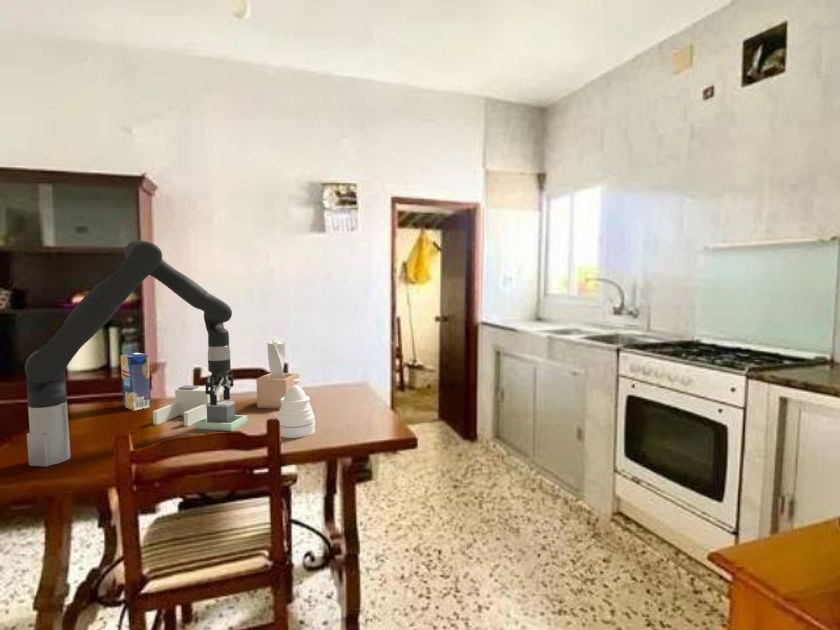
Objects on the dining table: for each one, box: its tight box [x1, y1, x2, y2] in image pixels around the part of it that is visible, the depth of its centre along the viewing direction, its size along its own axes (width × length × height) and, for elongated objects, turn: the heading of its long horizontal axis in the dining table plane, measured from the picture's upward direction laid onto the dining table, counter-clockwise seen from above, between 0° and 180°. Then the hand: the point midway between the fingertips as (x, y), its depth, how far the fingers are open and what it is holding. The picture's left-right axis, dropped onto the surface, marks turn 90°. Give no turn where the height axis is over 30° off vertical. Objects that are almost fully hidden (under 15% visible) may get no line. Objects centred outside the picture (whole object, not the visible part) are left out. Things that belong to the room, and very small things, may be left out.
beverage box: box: [120, 352, 152, 411], centre depth 212 cm, size 7×11×22 cm, turn 49°
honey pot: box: [276, 378, 316, 439], centre depth 176 cm, size 13×13×18 cm
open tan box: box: [255, 372, 300, 409], centre depth 214 cm, size 13×13×12 cm
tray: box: [194, 414, 248, 432], centre depth 184 cm, size 11×14×2 cm
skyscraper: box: [267, 337, 289, 379], centre depth 214 cm, size 8×8×28 cm
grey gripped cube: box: [206, 400, 236, 423], centre depth 184 cm, size 5×8×8 cm, turn 79°
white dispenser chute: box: [152, 385, 221, 427], centre depth 195 cm, size 21×14×11 cm, turn 170°
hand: (220, 402), depth 184 cm, fingers open, 8 cm apart
